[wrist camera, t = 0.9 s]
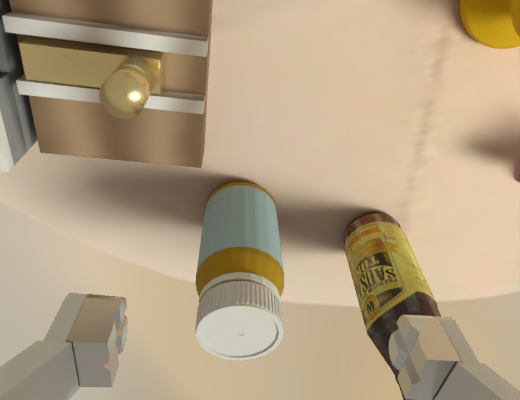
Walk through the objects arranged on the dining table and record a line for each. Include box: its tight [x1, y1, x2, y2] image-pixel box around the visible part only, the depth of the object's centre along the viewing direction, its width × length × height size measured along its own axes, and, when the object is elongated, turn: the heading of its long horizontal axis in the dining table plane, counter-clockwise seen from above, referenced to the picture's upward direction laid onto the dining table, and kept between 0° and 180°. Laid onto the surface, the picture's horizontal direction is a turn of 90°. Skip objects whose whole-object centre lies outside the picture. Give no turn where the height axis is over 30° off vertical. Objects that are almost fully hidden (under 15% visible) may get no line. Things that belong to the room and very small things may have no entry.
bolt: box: [19, 37, 164, 119], centre depth 26 cm, size 9×3×6 cm, turn 82°
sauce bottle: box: [344, 213, 441, 400], centre depth 35 cm, size 7×6×20 cm
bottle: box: [196, 182, 284, 360], centre depth 34 cm, size 7×7×15 cm
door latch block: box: [0, 0, 213, 172], centre depth 28 cm, size 20×16×6 cm
